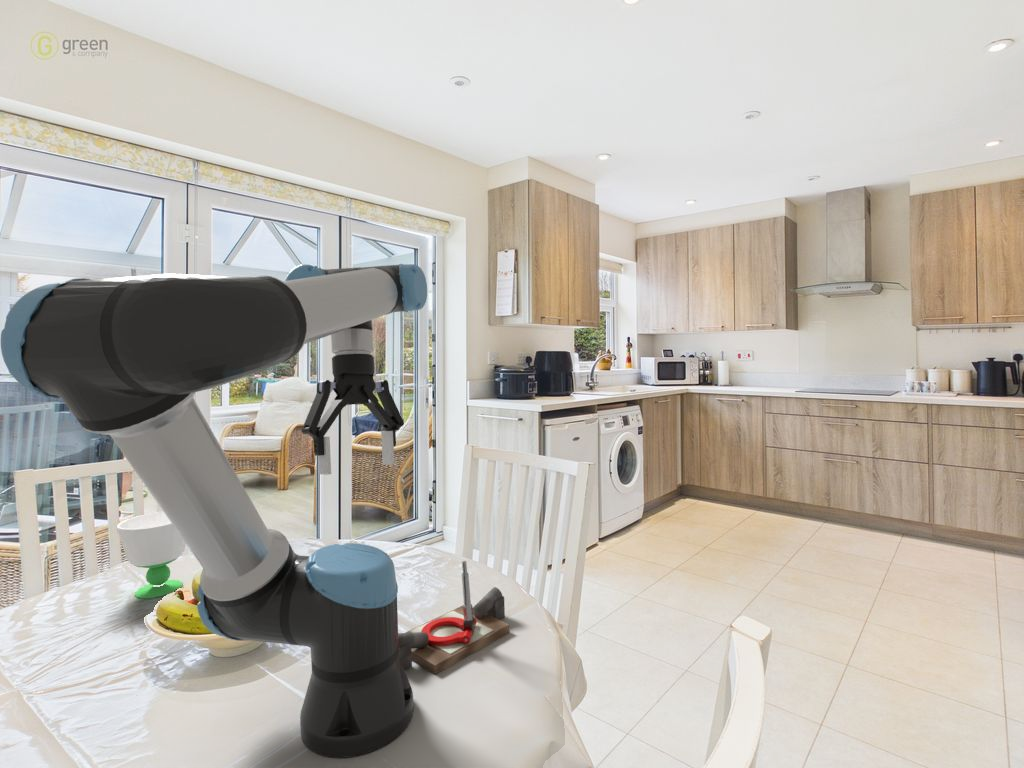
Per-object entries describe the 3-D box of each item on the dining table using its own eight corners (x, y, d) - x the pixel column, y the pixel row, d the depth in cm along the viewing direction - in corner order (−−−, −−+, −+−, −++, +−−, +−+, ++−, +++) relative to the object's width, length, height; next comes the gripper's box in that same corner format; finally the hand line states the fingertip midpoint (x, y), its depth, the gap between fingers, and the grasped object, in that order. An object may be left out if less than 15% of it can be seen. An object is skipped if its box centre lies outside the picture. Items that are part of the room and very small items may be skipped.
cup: (117, 589, 120) (112, 519, 119) (187, 571, 129) (183, 506, 128) (125, 610, 110) (120, 534, 109) (201, 589, 119) (197, 519, 118)
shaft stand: (416, 685, 82) (415, 649, 82) (373, 656, 91) (372, 623, 90) (522, 624, 100) (521, 595, 100) (478, 605, 108) (477, 577, 108)
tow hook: (415, 648, 90) (469, 647, 89) (409, 572, 90) (463, 571, 89) (428, 623, 99) (478, 622, 98) (423, 554, 98) (473, 552, 97)
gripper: (394, 358, 112) (399, 460, 111) (277, 354, 93) (283, 477, 92) (417, 354, 107) (423, 461, 106) (300, 349, 88) (305, 479, 87)
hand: (358, 469), depth 99 cm, fingers open, 13 cm apart
